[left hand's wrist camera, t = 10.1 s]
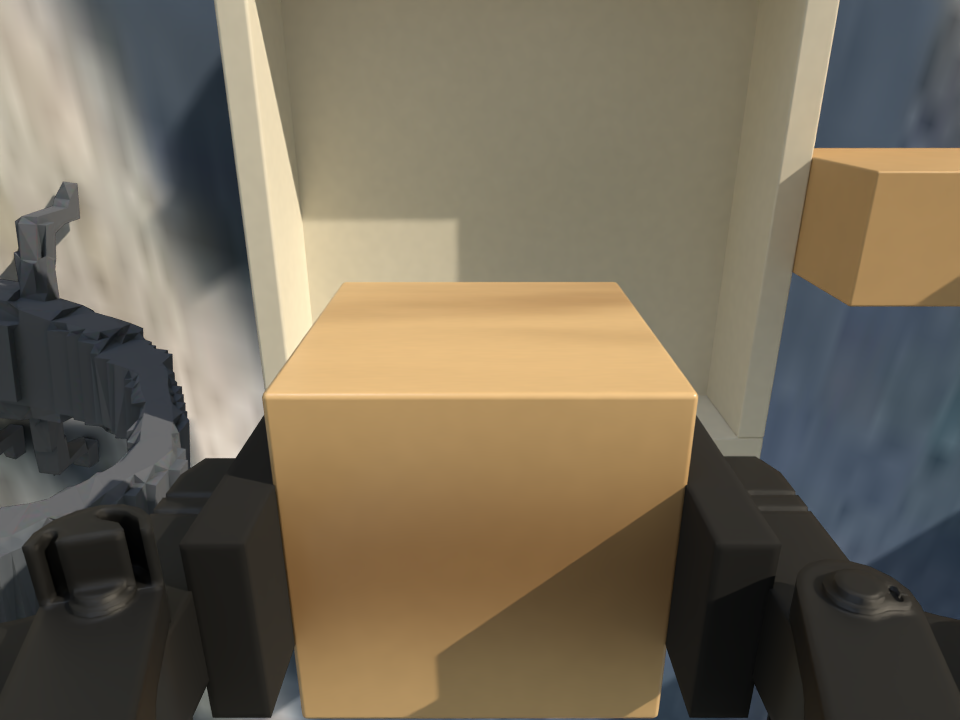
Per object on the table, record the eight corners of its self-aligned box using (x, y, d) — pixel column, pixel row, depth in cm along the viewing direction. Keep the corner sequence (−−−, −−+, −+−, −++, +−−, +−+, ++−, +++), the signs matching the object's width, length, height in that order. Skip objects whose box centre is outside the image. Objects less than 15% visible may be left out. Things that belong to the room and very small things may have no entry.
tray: (249, -80, 18) (133, -162, 12) (1313, -82, 18) (1730, -164, 12) (301, 409, 24) (240, 521, 18) (1122, 408, 24) (1345, 520, 18)
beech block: (341, 280, 14) (259, 394, 9) (617, 280, 14) (701, 393, 9) (359, 515, 16) (301, 721, 11) (599, 515, 16) (659, 721, 11)
